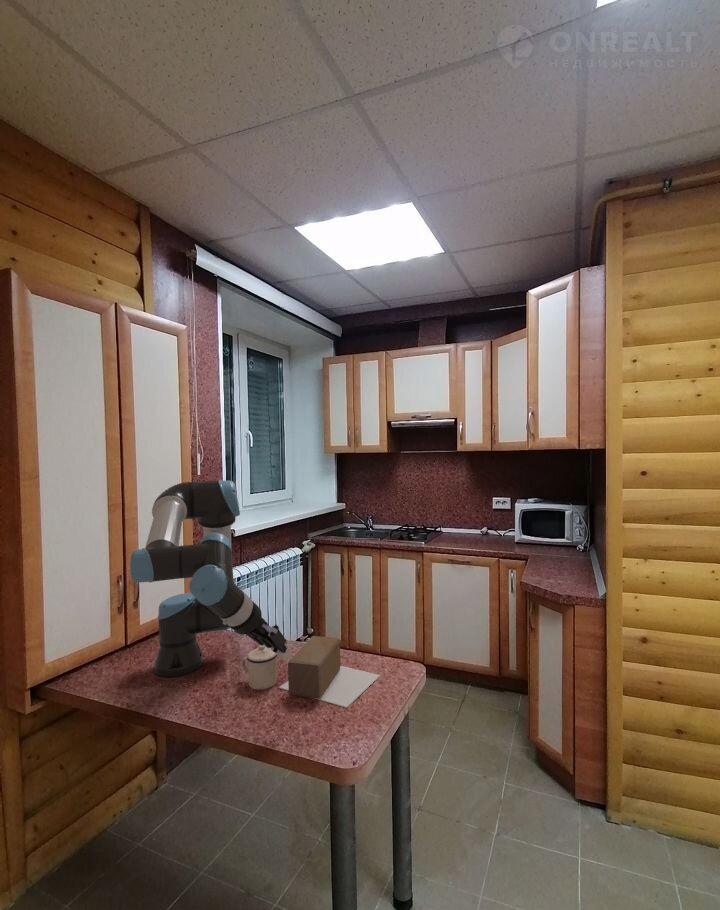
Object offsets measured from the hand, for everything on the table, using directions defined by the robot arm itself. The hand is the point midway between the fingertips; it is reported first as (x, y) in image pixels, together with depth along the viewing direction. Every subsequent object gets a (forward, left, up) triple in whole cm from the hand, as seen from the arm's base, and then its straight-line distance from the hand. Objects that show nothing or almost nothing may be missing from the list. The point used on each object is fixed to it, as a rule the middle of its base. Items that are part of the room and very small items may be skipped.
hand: (286, 655), depth 122 cm
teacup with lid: (-20, +11, -17) cm, 28 cm away
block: (-2, +9, -11) cm, 14 cm away
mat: (0, +21, -17) cm, 26 cm away
